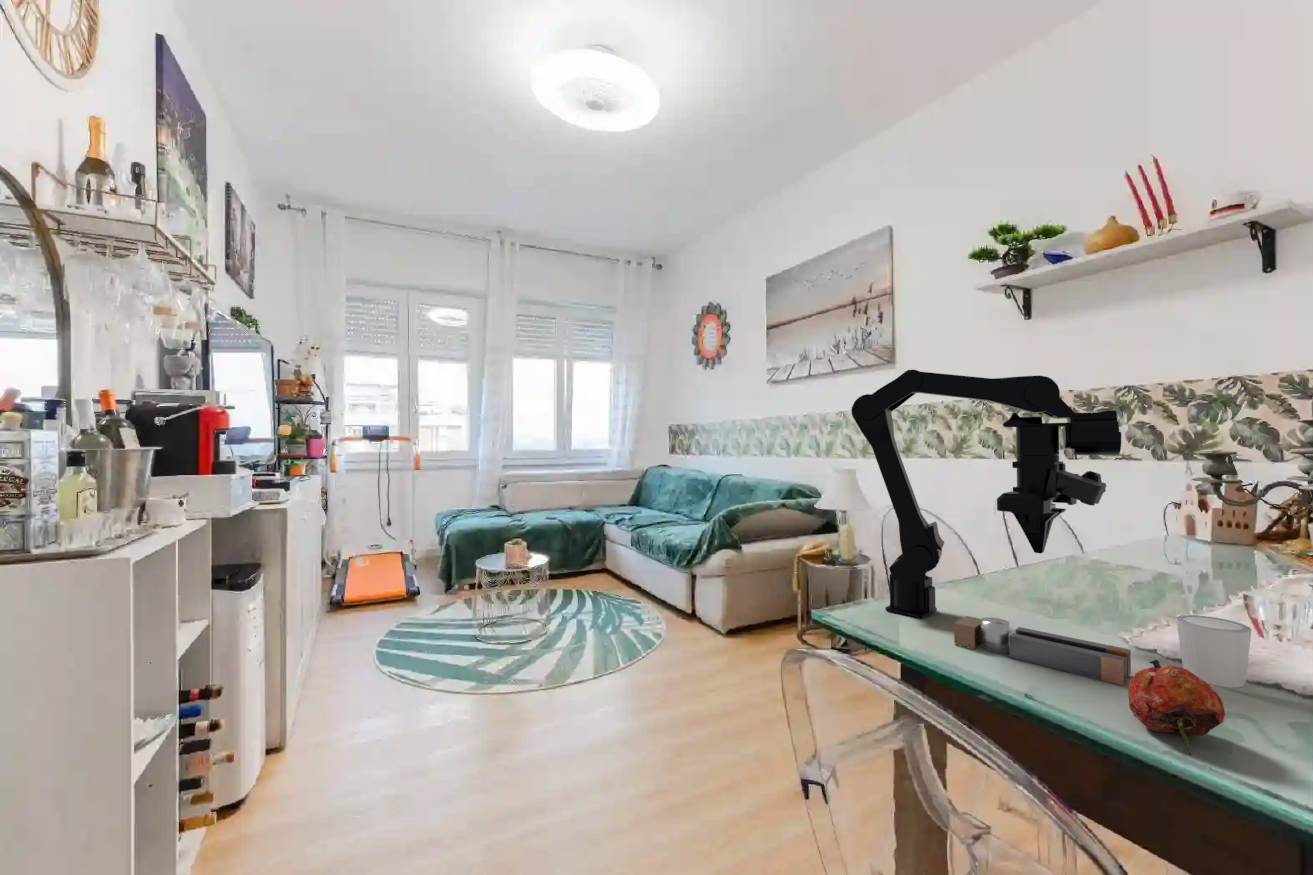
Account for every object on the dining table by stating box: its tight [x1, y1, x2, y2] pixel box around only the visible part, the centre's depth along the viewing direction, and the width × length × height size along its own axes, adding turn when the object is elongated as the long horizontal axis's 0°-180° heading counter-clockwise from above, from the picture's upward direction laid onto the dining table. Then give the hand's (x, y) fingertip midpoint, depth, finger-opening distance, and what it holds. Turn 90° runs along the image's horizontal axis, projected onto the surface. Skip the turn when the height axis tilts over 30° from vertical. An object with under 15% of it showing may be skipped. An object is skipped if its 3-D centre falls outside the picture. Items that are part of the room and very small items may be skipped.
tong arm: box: [1014, 626, 1132, 678], centre depth 78 cm, size 12×2×3 cm, turn 43°
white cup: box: [1176, 614, 1253, 689], centre depth 73 cm, size 7×7×7 cm
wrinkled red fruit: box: [1127, 659, 1226, 756], centre depth 59 cm, size 7×7×10 cm
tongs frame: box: [953, 615, 1128, 687], centre depth 79 cm, size 20×5×4 cm, turn 41°
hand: (1039, 552), depth 92 cm, fingers closed
